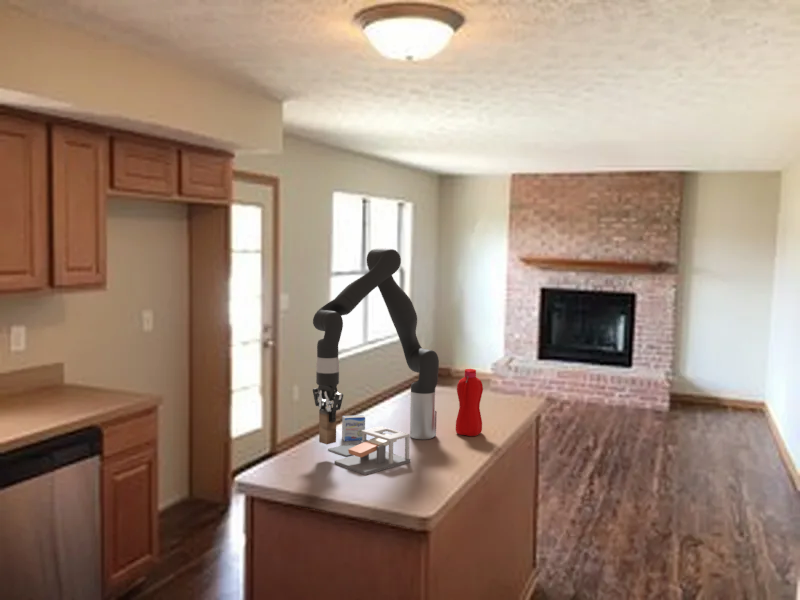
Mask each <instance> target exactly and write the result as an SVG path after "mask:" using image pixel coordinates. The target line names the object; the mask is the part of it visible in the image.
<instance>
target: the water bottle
mask: <svg viewBox="0 0 800 600" xmlns="http://www.w3.org/2000/svg"><path fill="white" fill-rule="evenodd" d="M483 387H484V386H483V383H482V380H481V379H480V378H479V377H477V370H476V369H474V368H467V369H466V368H465V370H464V377H461V379H459V381H458V382H457V385H456V394H457V398H458V402H459V403H458V405H459V409H458V413H457V416H456V420H455V432H456V433H457V435H461V436H468V437H476V436H479V435H480V434H482V431H483V420H482V414H481V409H480V404H481V401H482V395H483V392H484V388H483Z"/></svg>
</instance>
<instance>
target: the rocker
mask: <svg viewBox="0 0 800 600" xmlns="http://www.w3.org/2000/svg"><path fill="white" fill-rule="evenodd" d="M383 435H389V433H386V432H383ZM367 440H368V441H366V442H363V443H361V444H360V443H359V444H357V445H355V446H354V447H352V448H350V449H348V451H349V454H352V455H351V456H358V457H364V456H366V455H368V454H370V453H372V452H374V451H377V447H378V446H382V445H385V446H386V447H387V446H389V441H387V440H383V439H380V438H377V437H372V438H370V439H367ZM397 441H398V440H394V441H393V444H394V443H396V442H397Z"/></svg>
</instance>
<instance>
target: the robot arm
mask: <svg viewBox="0 0 800 600" xmlns="http://www.w3.org/2000/svg"><path fill="white" fill-rule="evenodd" d="M401 263H402V259H401V255H400V253H399V252H398V251H397V250H395V249H393V248H386V247H385V248H380V247H379V248H373V249H371V250H369V252H368V253H367V255H366V266H367V269H368V272H366V273H364V274H363V275H362V276H361V277H359V278H357V279H356V280H353V282H351V283H349V284H348V285H347V286H346V287H345V288H343V290H342V291H341V292H339V294H338V295H337V296H336V297H335V298H334V299H332V300H331V301H329V302H327V303H326V304H323V306H322V307H320V308H319V309H318V310H317V311H316V313H315V314H314V315H313V319H312V324H313V327H314V328H315V329H316V330H317V331H321V332H324V336H323V338H321V339H318V341H317V344H316V352H317V353H316V362H315V363H316V366H315V368H316V371H315V373H316V376H315V377H316V384H317V385H318V386H317V387H315V388H312V393H313V394H312V395H313V400H314V405H315V407H318V410H320V409H325V408H329V411H330V412H329V422H330V423H333V422H335V420H336V421H337V411H339V410H341V407H342V403H343V399H344V394H343V393H340V392H339V391H338V387H337V386H338V385H339V384H340V360H339V343H340V341H341V340H340V339H341V336H342V333H343V328H344V320H343V317H342V316H347V315H349V314H350V313H351V312H353V310H354V309H355V308H356V307H357V306H358V305H359V304H360V303H361V302H362V301H363V299H365V298H366V297H367V296H368V295H369V294H370V293H371V292H372V291H373V290H374V289H375V288H376V289H377V288H378V290H379V292H380V295H381V297H382V299H383V301H384V303H385V306H386V309H387V311H388V314H389V316H390V319H391V321H392V323H393V326H394V329H395V332H396V333H397V335H398V339H399V341H400V344H401V348H402V351H403V354H404V359H405V361H406V363H407V367H408V368H409V369H410V370H411V371H412V372H415V373H418V380H417V381H414V382H412V383H411V384H410V407H409V409H410V412H409V413H410V414H409V420H410V421H409V434H410V438H412V439H415V440H416V439H417V440H431V439H434V437H437V417H438V416H437V410H436V387H437V384H438V382H439V381H438V378H439V370H440V369H439V368H440V366H439V365H440V363H439V361H440V359H439V356H438V355H439V354H437V352H436V351H434V350H433V349H428V348H422V346H421V344H420V342H419V340H418V337H417V332H416V331H417V327H418V315H417V312H416V310H415V309H416V308H415V307H414V304H413V301H412V299H411V298H410V297H409V296H408V295H407V293H406V292H405V291H404V290H403V289H402V288H401V287H400V286H399V285H398V283H397V282H396V281H395V279H394V277H393V275H394V274H395V273H396V272H398V270H399V269H400V267H401ZM327 406H328V407H327Z"/></svg>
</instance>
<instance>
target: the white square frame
mask: <svg viewBox="0 0 800 600" xmlns="http://www.w3.org/2000/svg"><path fill="white" fill-rule="evenodd" d="M386 432H388V433H391V434H388V435H383V434H384V433H386ZM361 433H362V440H360V443H359V444H361V443H363V442H366V441H368V440H369V439H367V436H370V437H372V438H375V437H377V438H380V439H383V440H387V441H389V445H388V451H386V450H387V448H386V447H387V446H385V445H382V446H378V447H377V451H374V452H372V453H370V454H368V455H366V456H364V457H358V456H355V455H351V456H347V457H345V458H341V459H337V460H334V465H337V466H339V467H341V468H345V469H348V470H350V471H353V472H356V473H359V474H362V475H364V476H366V475H369V474H373V473H377V472H381V471H384V470H387V469H390V468H391V469H392V468H394V467H397V466H398V467H399V466H401V465H402V466H403V465H405V464H408V463H411V459H410V443H411V442H410V440H411V439H410V438H411V437H410V433H407V432H403V431H400V430H396V429H392V428H388V427H385V426H382V425H380V426H374V427H371V428H365V430H361ZM401 439H404V440H405V441H404V442H405V443H404V446H405V447H404V456H402V455H398V454H394V443H393V441H394V440H397V441H398V440H401Z"/></svg>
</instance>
